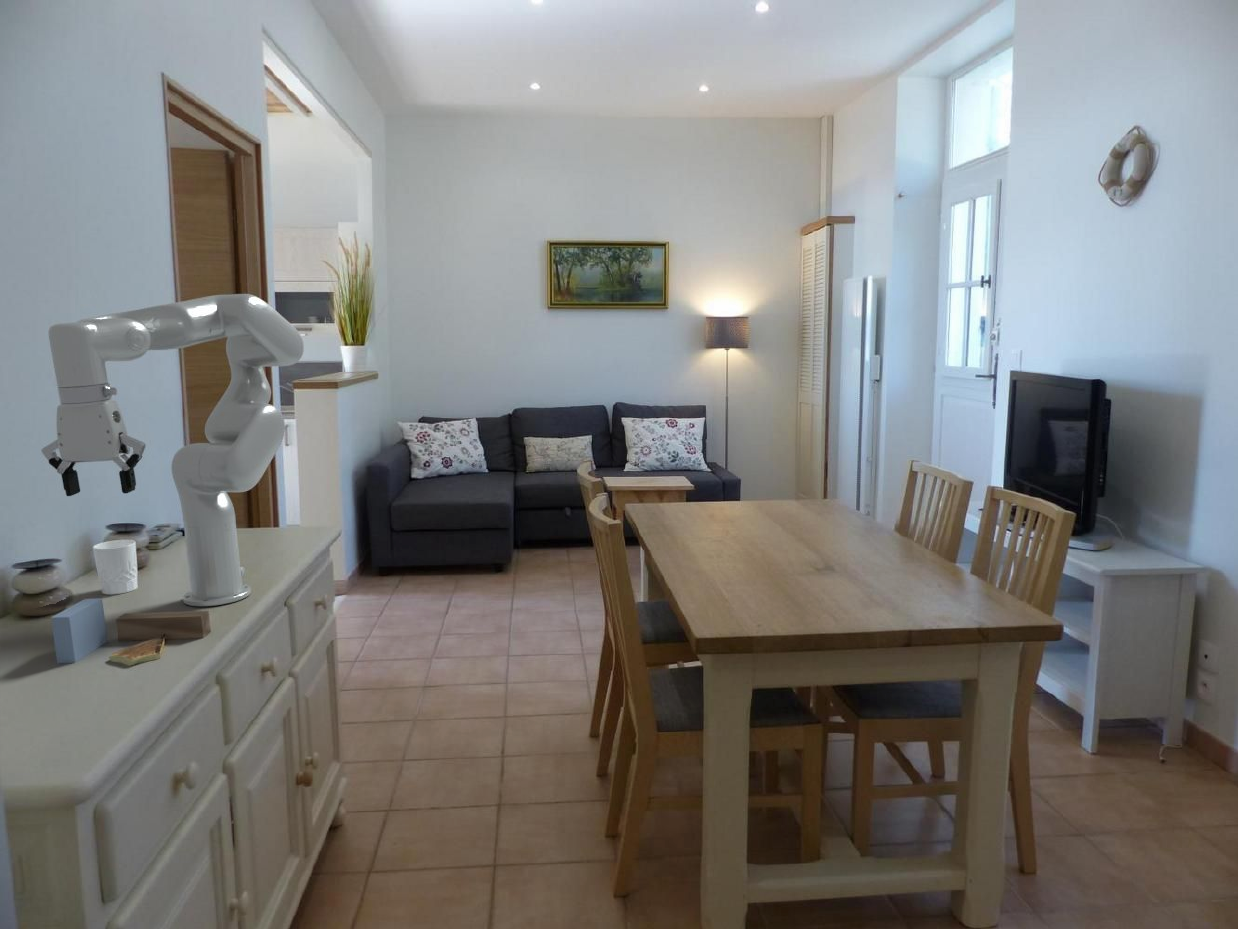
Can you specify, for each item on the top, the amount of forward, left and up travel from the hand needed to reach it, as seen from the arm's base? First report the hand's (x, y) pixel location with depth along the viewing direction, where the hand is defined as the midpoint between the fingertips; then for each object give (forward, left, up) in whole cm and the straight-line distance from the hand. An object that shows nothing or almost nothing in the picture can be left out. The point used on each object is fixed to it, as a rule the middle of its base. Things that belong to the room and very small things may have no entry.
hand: (101, 493), depth 159 cm
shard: (+9, +8, -27) cm, 29 cm away
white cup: (-30, -16, -27) cm, 43 cm away
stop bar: (0, +8, -26) cm, 28 cm away
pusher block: (+7, -3, -27) cm, 27 cm away
